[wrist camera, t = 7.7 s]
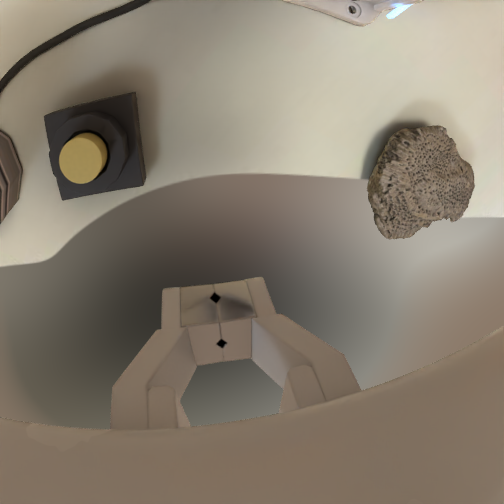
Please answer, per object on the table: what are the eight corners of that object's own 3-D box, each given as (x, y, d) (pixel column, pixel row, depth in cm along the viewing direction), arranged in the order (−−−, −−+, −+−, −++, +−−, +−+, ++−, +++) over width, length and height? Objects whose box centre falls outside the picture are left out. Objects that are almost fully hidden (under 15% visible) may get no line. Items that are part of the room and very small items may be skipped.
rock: (494, 159, 26) (469, 144, 30) (416, 111, 21) (386, 99, 25) (446, 255, 34) (427, 234, 38) (360, 246, 29) (340, 220, 33)
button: (71, 179, 20) (64, 187, 19) (63, 138, 18) (54, 143, 17) (111, 171, 21) (106, 179, 19) (103, 128, 19) (97, 132, 17)
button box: (69, 191, 24) (55, 209, 21) (53, 111, 19) (34, 120, 16) (146, 177, 25) (141, 194, 22) (136, 92, 21) (127, 95, 18)
